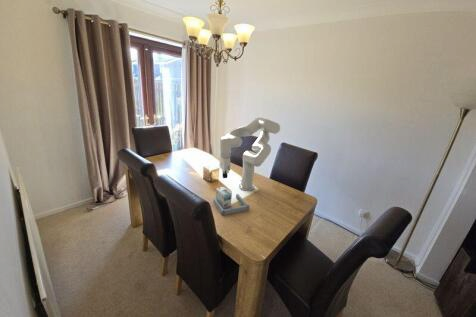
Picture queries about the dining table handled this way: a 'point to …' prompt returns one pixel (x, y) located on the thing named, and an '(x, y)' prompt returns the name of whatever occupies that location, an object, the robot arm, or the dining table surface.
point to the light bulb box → (223, 197)
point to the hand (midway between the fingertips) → (224, 177)
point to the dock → (232, 210)
